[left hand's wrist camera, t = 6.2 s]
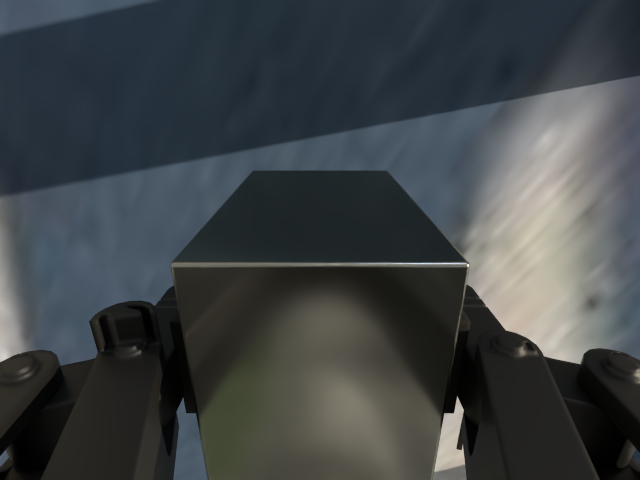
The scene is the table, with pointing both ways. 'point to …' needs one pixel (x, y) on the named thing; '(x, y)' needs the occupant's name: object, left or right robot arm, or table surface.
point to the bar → (320, 329)
